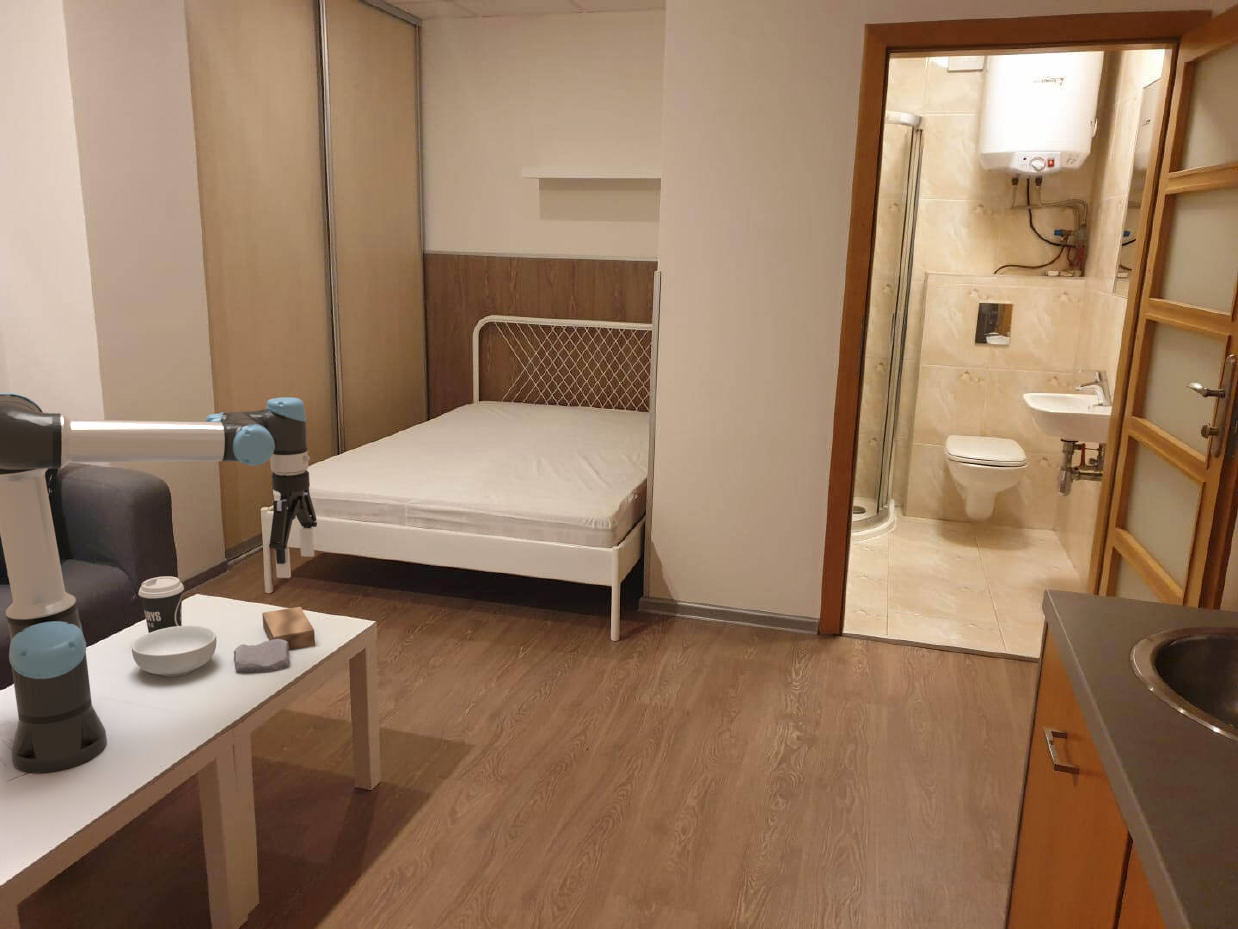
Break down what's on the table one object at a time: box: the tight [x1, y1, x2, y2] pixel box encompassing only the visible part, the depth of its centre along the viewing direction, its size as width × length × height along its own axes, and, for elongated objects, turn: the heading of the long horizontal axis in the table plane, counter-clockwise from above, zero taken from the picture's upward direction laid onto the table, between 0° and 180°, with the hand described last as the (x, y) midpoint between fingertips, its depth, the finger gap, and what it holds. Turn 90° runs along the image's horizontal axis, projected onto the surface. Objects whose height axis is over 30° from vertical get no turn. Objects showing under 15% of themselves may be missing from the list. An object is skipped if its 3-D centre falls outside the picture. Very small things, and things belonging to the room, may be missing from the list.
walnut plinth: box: [262, 606, 316, 652], centre depth 228 cm, size 9×16×4 cm, turn 29°
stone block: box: [233, 639, 291, 673], centre depth 214 cm, size 12×5×10 cm
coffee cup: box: [138, 575, 185, 633], centre depth 222 cm, size 10×10×15 cm
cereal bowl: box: [131, 625, 217, 678], centre depth 210 cm, size 17×17×7 cm
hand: (296, 566), depth 207 cm, fingers open, 13 cm apart
